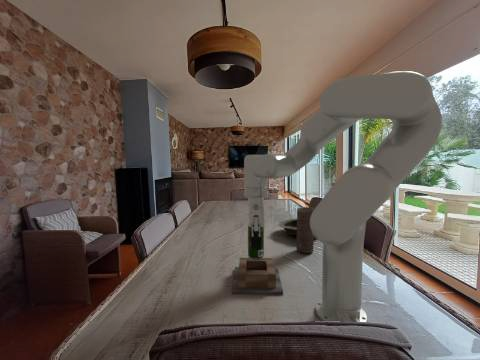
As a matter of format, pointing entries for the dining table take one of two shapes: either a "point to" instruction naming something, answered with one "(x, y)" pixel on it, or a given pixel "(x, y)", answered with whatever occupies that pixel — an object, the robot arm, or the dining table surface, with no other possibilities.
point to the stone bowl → (290, 226)
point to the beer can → (255, 253)
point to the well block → (256, 277)
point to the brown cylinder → (304, 230)
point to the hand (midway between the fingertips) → (255, 244)
